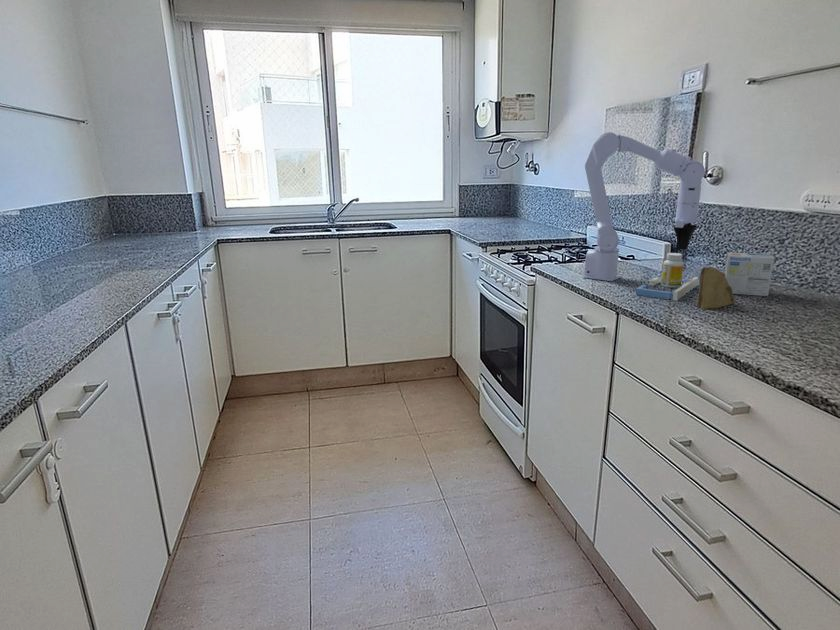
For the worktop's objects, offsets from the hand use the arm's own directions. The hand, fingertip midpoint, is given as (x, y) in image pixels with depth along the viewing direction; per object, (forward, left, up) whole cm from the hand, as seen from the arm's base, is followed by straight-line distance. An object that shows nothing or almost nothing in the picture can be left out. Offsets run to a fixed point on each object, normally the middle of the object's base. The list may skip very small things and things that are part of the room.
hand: (682, 249), depth 153 cm
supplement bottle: (0, -8, -10) cm, 13 cm away
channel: (0, -14, -10) cm, 17 cm away
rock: (+15, -24, -10) cm, 30 cm away
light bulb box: (+18, -5, -10) cm, 21 cm away
